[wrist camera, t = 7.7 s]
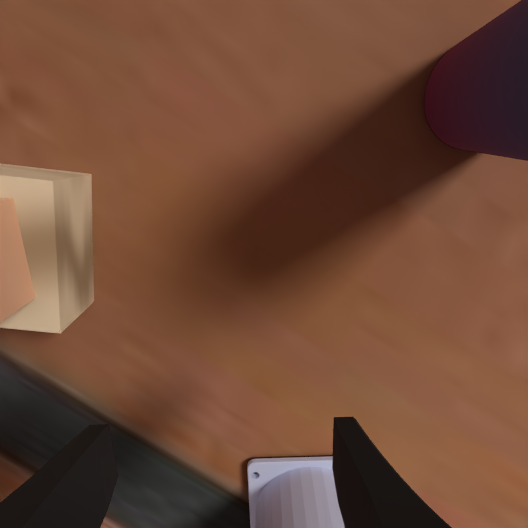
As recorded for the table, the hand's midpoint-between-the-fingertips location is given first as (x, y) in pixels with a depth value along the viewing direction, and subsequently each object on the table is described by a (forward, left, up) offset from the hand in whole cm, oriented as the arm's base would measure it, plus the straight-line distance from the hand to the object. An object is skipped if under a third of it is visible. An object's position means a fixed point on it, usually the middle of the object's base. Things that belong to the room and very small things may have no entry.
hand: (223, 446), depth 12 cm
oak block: (+5, +11, -10) cm, 16 cm away
